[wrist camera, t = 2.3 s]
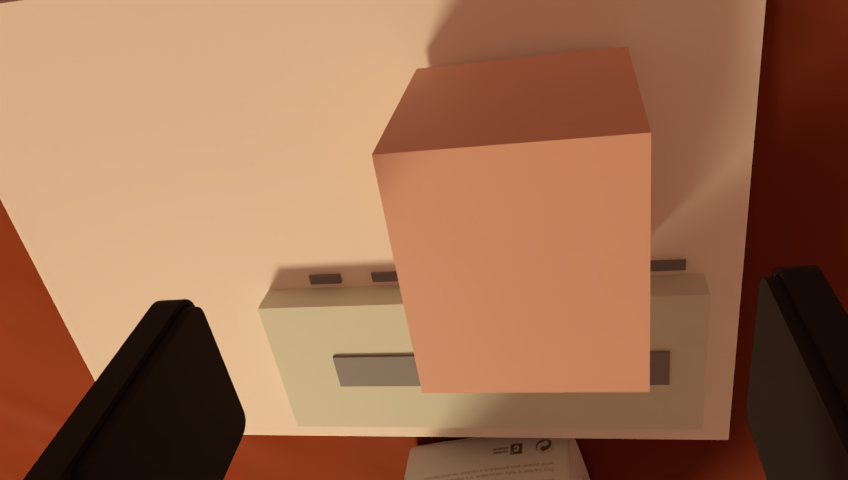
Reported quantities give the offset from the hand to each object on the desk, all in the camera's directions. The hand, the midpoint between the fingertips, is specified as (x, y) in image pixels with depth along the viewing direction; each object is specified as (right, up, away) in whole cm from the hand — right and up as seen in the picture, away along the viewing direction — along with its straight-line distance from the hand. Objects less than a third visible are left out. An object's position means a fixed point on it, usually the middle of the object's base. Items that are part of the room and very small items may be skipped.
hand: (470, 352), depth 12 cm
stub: (+2, +4, +6) cm, 8 cm away
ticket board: (-3, +2, +10) cm, 11 cm away
